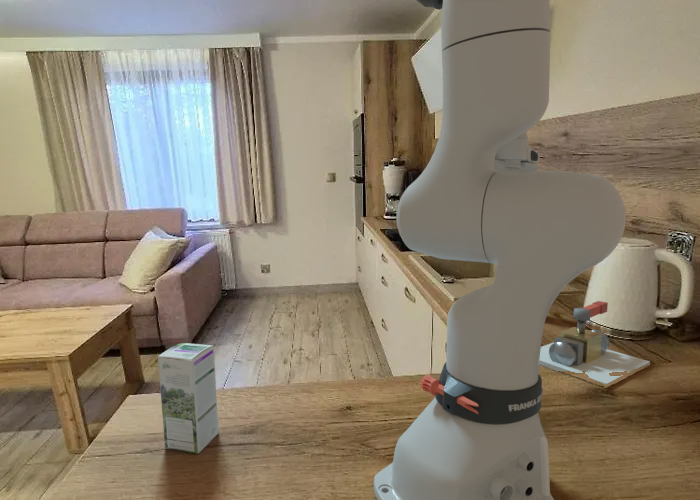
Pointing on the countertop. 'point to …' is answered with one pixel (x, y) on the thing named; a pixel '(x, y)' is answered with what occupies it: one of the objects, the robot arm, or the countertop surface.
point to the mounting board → (596, 365)
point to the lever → (590, 311)
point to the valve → (578, 345)
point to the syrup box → (188, 396)
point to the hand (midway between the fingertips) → (503, 213)
